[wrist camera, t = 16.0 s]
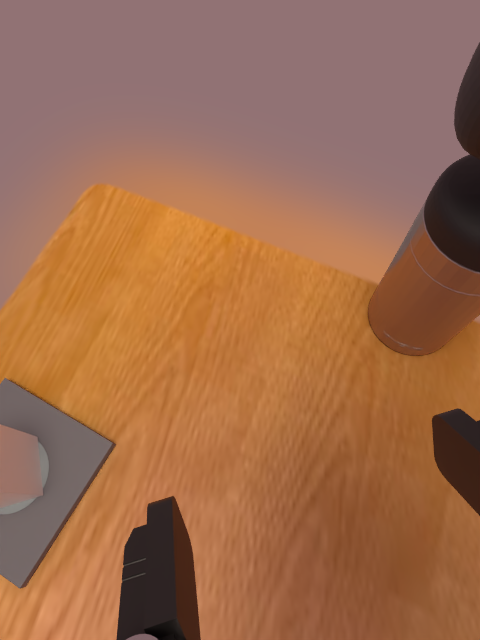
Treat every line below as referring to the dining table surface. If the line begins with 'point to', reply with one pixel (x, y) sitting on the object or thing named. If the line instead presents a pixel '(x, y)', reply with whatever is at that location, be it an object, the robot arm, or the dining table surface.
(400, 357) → the dining table surface
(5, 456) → the sleeve
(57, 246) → the dining table surface
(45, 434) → the post plate
